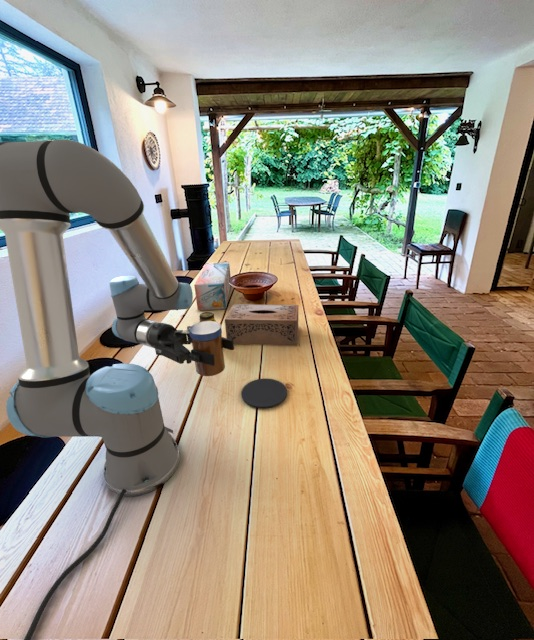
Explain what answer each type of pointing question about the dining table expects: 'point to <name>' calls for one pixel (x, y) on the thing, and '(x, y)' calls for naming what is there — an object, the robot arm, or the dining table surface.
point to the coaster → (264, 393)
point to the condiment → (207, 316)
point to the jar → (211, 348)
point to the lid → (205, 330)
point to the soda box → (213, 286)
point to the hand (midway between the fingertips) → (223, 352)
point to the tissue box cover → (262, 324)
